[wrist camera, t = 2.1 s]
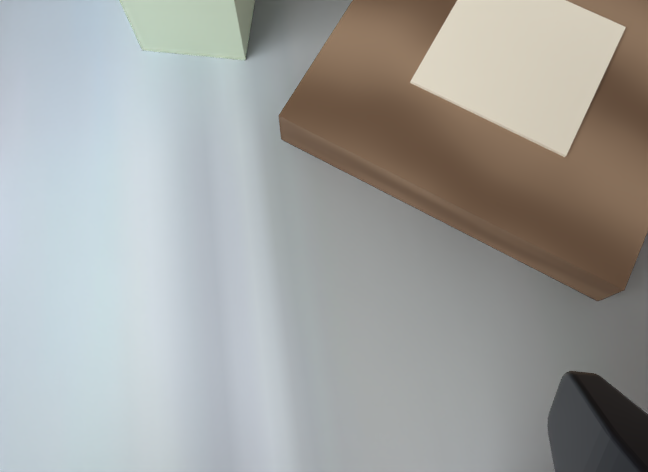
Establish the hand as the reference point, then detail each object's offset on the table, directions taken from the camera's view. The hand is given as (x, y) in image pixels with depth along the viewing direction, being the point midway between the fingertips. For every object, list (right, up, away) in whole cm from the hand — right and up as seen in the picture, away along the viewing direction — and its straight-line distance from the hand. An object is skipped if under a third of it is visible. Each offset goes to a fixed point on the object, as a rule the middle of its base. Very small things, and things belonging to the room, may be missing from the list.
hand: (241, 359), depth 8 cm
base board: (+9, +8, +17) cm, 21 cm away
